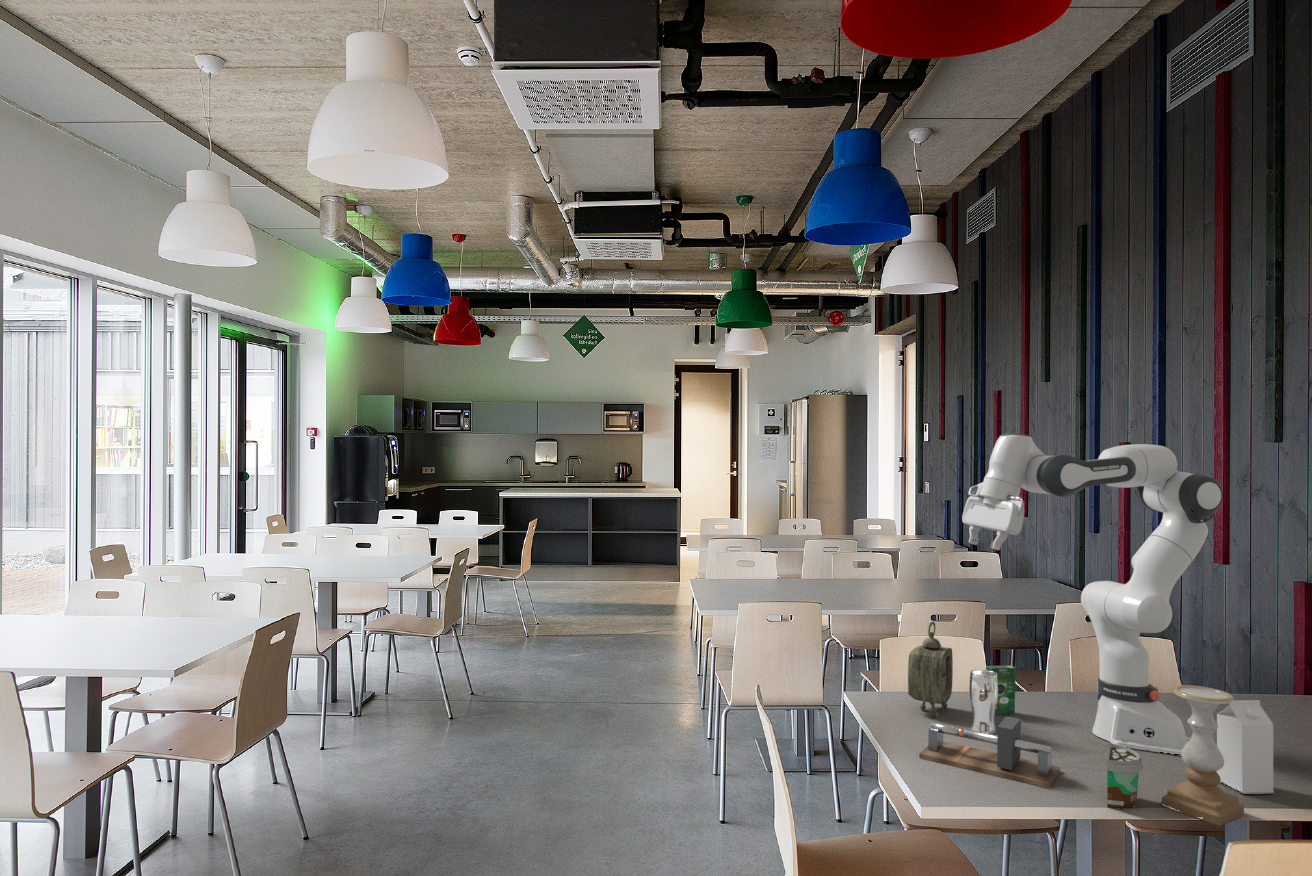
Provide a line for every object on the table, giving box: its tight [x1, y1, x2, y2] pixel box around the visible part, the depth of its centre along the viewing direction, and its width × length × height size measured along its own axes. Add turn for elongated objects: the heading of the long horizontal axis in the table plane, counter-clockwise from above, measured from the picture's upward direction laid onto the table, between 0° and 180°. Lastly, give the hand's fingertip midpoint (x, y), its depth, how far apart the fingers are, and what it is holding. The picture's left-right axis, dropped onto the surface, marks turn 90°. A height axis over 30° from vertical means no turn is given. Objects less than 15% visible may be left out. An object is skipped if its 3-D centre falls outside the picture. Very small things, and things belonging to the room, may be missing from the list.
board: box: [918, 740, 1061, 789], centre depth 186 cm, size 28×12×1 cm, turn 54°
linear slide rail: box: [927, 721, 1053, 777], centre depth 186 cm, size 26×5×6 cm, turn 54°
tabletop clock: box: [907, 621, 954, 719], centre depth 225 cm, size 14×9×25 cm, turn 148°
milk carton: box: [1216, 699, 1274, 793], centre depth 175 cm, size 7×7×19 cm
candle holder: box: [1161, 684, 1245, 827], centre depth 163 cm, size 11×11×24 cm
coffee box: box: [985, 665, 1017, 716], centre depth 224 cm, size 8×3×13 cm, turn 103°
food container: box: [1106, 742, 1144, 810], centre depth 166 cm, size 12×6×10 cm, turn 148°
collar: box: [996, 716, 1022, 770], centre depth 183 cm, size 3×9×9 cm, turn 144°
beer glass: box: [968, 668, 998, 735], centre depth 209 cm, size 7×7×15 cm
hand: (983, 546), depth 201 cm, fingers open, 8 cm apart
